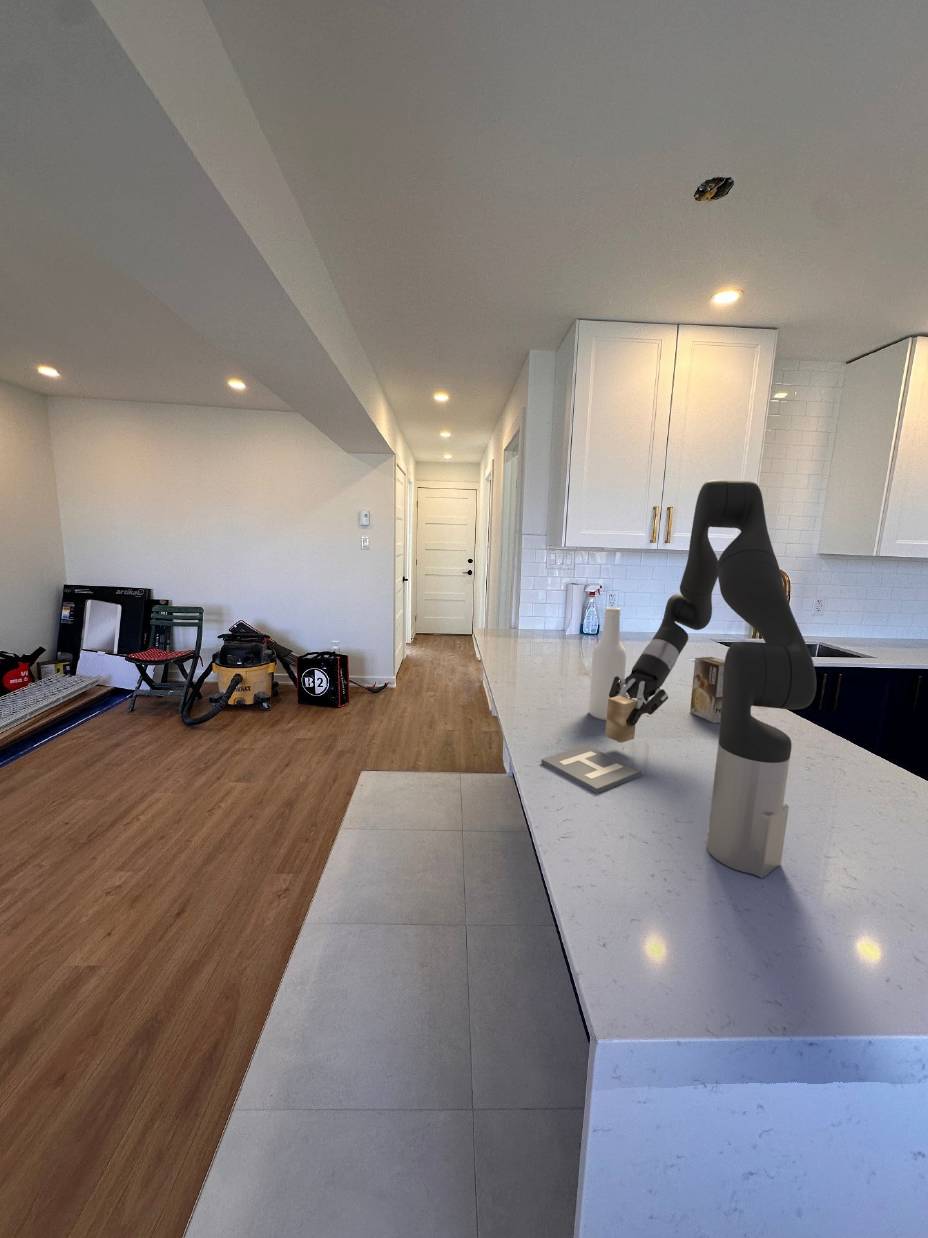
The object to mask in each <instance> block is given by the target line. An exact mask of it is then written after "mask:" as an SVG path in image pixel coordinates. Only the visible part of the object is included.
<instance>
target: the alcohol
mask: <svg viewBox="0 0 928 1238" xmlns="http://www.w3.org/2000/svg"><path fill="white" fill-rule="evenodd" d="M604 610H605V611H604V620H603V627H602V634H601V638H600V641H598V643H597V644H596V645H595V646H594V648H593V650H592V651H593V652H592V656H591V657H592V658H591V669H590V670H591V672H590V673H591V675H590V687H589V701H588V713H589V715H590V716H591V717H593V718H594V719H597V720H602V721H607V707H608V698H610V697H609V693H610V690H611V687H612V683H613V680H614V678H615V677H616V676H618V677H619V678H620V679H626V667H627V666H626V665H627V652H626V649H625V647H624V645H623V643H622V642H621V640H620V639H621V638H620V637H621V635H620V632H621V631H620V629H621V627H620V626H621V625H620V624H621V623H620V622H621V621H620V620H621V618H620V617H621V608H620V607H616V606H606V607H605V608H604ZM624 686H625V685H624ZM624 686H623V687H624ZM621 689H622V688H621Z"/></svg>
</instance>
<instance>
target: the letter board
mask: <svg viewBox="0 0 928 1238" xmlns="http://www.w3.org/2000/svg"><path fill="white" fill-rule="evenodd" d="M540 763H541V764H542V765H544V767H547V768H549V769H551V770H553V771H555V772H556V773H558V774H560V775H562V776H564V777H566V778H568V779H569V780H571V781H573V782H574V783H576V784H579V785H581V786H582V787H584V788H586V789H587V790H590V791H592V792H593V793H595V794H599V793H601V792H603V791H604V792H605V791H606V790H609V789H610V788H614V787H616V786H619V785H621V784H625V783H626V782H628V781H631V780H634V779H636V778H639V777H640V776H643V769H640V768H637V767H635V766H633V765H631V764H629V763H626V762H624V761H623V760H620V759H619V758H616V757H614V756H611V755H609V754H607V753H605V752H602V751H600V750H598V749H596V748H593V747H591V746H589V745H586V744H585V745H581V746H578V747H575V748H572V749H569V750H565V751H563V752H559V753H555V754H554V755H550V756H546V757H542V758H541V762H540Z"/></svg>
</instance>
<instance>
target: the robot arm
mask: <svg viewBox="0 0 928 1238" xmlns="http://www.w3.org/2000/svg"><path fill="white" fill-rule="evenodd" d="M766 520H767V519H766V513H765V507H764V500H763V494H762V490H761V489H760V486H759V485H758V484H757V483H755V482H754V481H751V480H750V481H749V480H734V479H733V480H731V479H730V480H729V479H728V480H727V479H711V480H708V481H705V482H704V484H702V486H701V487H700V490H699V492H698V495H697V500H696V502H695V509H694V514H693V520H692V527H691V532H690V539H689V548H688V555H687V561H686V564H685V567H684V568H685V569H684V572H683V575H682V578H681V582H680V584H679V592H680V593H675V594H673V595H671V596H670V597H669V598H668V600H667V602H666V605H665V609H664V613H663V619H662V621H661V624H660V626H659V628H658V629H657V631H656V633H655V634H654V636H653V638H652V639H651V641H650V642H649V643H648V644H647V645H646V646H645V648H644V650H643V651H642V652H641V654H640V656H639V657H638V659H637V660H636V662H635V664H634V665H633V666H632V668H631V672H630V674H629V675H628V676H625V679H620V678H619V677H618V676H616V677H615V678H614V680H613V683H612V687H611V690H610V693H609V697H610V698H612V697H616V696H624V697H627V698H630V699H636V700H637V703H636V708H634V709H633V710H632V712H631V713H630V715H629V717H628V718H627V720H626V723H627V724H628V726H631V727H632V726H633V725H635V726H636V725H637V723H638V721H639V719H640V718H641V716H642V715H644V714H647V715H653V714H654V713H655V712H656V711H657V710H658V709H659V708H660V707H661V706H662V705H664V703H666V701H668V699H669V696H668V693H667V692H666V690H665V689H663V688H661V687H662V686H663V685H664V684H665V682H666V679H667V678H668V676H669V675H670V674H671V672H672V670H673V668H674V667H675V665H676V663H677V661H678V658H679V656H680V654H681V653H682V651H683V649H684V648H685V647H686V646H687V645H686V644H687V643H688V642H689V634H688V632H687V631H686V630H685V629H684V628H683V627H682V626H684V627H687V628H689V629H692V630H694V631H700V630H703V629H705V628H706V627H707V626H708V625H709V623H710V622H711V619H712V615H713V614H712V613H713V601H712V600H713V597H712V596H713V591H714V588H715V585H716V583H717V580H718V584H719V591H720V595H721V596H722V599H723V601H724V602H725V603H726V604H727V605H728V606H729V607H730V609H731V610H732V611H733V612H734V613H735V614H736V615H738V616H739V617H740V618H741V619H743V621H745V622H746V623H747V624H749V625H750V627H752V628H753V629H754V630H755V631H756V632H757V633H758V634H759V635H760V636H761V638H762V639H763V641H764V642H755V641H753V642H752V641H735V642H733V643H732V644H730V646H729V648H728V649H727V651H726V653H725V657H724V661H725V662H724V671H723V692H722V707H721V717H720V722H719V735H718V743H717V753H716V761H715V769H714V777H713V778H714V779H713V786H712V795H711V803H710V811H709V820H708V830H707V835H706V836H707V839H706V849H707V851H708V853H709V854H710V855H711V856H712V857H713V859H715V860H717V861H718V862H719V863H721V864H723V865H724V866H726V867H729V868H730V869H733V870H735V871H736V870H737V871H739V872H743V873H746V874H751V875H754V876H757V877H758V878H760V879H763V878H764V877H766V876H767V875H768V874H770V873H771V872H772V871H774V870H775V869H776V868H777V867H778V866H780V865H781V864H782V857H783V851H784V843H785V837H786V829H787V823H788V822H787V821H788V815H789V808H790V807H789V805H788V804H787V803H785V802H784V801H785V797H786V789H787V788H786V787H787V781H788V773H789V766H790V760H791V759H790V758H791V753H792V747H793V746H792V744H793V743H792V739H791V738H790V737H789V735H787V734H786V733H785V732H784V731H782V730H781V729H779V728H777V727H775V726H773V725H771V724H768V723H766V722H763V721H762V720H759V719H757V718H755V717H754V716H753V715H752V712H751V710H752V707H760V708H761V707H762V708H771V709H782V710H803V709H805V708H807V707H809V706H810V705H811V704H812V703H813V701H814V699H815V697H816V693H817V673H816V669H815V665H814V661H813V658H812V656H811V653H810V651H809V648H808V645H807V643H806V641H805V638H804V636H803V634H802V633H801V629H800V628H799V626H798V623H797V621H796V619H795V615H794V614H793V611H792V609H791V605H790V603H789V600H788V596H787V595H788V594H787V592H786V589H785V585H784V580H783V576H782V572H781V569H780V566H779V563H778V562H779V561H778V560H777V557H776V554H775V551H774V549H773V546H772V541H771V539H770V538H771V537H770V534H769V531H768V527H767V521H766ZM709 528H723V529H726V528H728V529H737V530H739V531H740V533H739V534H738V535H737V536H736V537H735V538H734V539H733V540H732V541H731V542H730V543H729V544H728V546H727V547H726V548H725V549H724V550H723V551H722V553H721V554H720V556H719V558H718V557H717V554H716V552H715V551H714V548H713V546H712V544H711V542H710V538H709ZM679 624H680V625H682V626H680V625H679ZM623 686H624V687H623ZM621 688H622V689H621Z"/></svg>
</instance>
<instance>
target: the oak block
mask: <svg viewBox="0 0 928 1238" xmlns="http://www.w3.org/2000/svg"><path fill="white" fill-rule="evenodd" d="M636 703H637V699H635V698H632V699H630V698H627V697H624V696H616V697H612V698H608V707H607V720H605V722H606V723H605V737H606V738H608V739H611V740H612V741H613V740H614V741H616V742H619V743H621V744H623V743H625V742H629V741H631V740H635V734H636V724H635V725H633V726H632V727H631V726H628V724H627V723H626V720H627V718H628V717H629V715H630V713H631V712H632V710H633V709H634V708H636Z"/></svg>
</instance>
